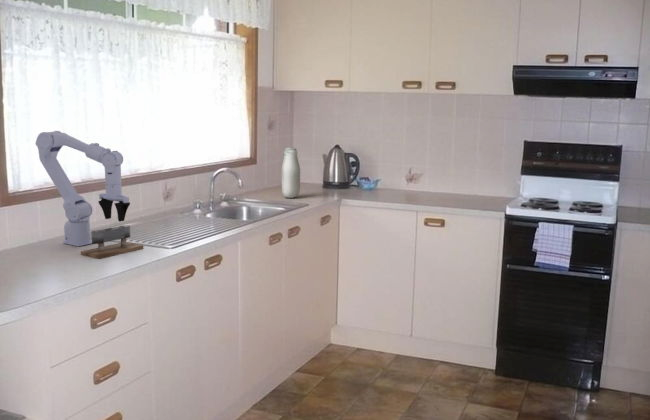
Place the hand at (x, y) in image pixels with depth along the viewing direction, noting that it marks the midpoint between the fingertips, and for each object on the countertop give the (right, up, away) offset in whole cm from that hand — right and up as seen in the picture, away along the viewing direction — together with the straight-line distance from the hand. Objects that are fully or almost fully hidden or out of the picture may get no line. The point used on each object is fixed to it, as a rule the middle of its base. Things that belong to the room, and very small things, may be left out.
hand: (114, 219), depth 260 cm
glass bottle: (+60, +10, +124) cm, 138 cm away
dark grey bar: (+2, -7, -9) cm, 12 cm away
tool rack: (+2, -11, -8) cm, 14 cm away
